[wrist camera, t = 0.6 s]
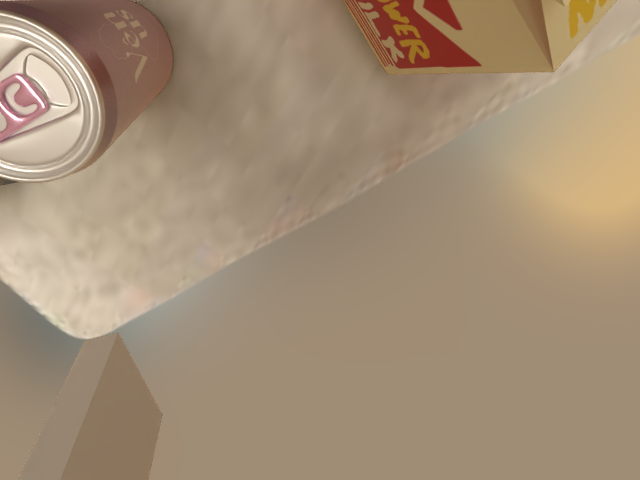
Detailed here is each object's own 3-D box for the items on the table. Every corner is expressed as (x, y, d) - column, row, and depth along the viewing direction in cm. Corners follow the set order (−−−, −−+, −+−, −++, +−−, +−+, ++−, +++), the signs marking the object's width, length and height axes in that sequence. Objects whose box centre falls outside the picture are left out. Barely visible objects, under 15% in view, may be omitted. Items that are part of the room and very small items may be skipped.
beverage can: (49, 30, 27) (-141, 67, 14) (131, -25, 27) (12, -39, 13) (117, 118, 30) (12, 217, 17) (194, 70, 29) (146, 135, 16)
